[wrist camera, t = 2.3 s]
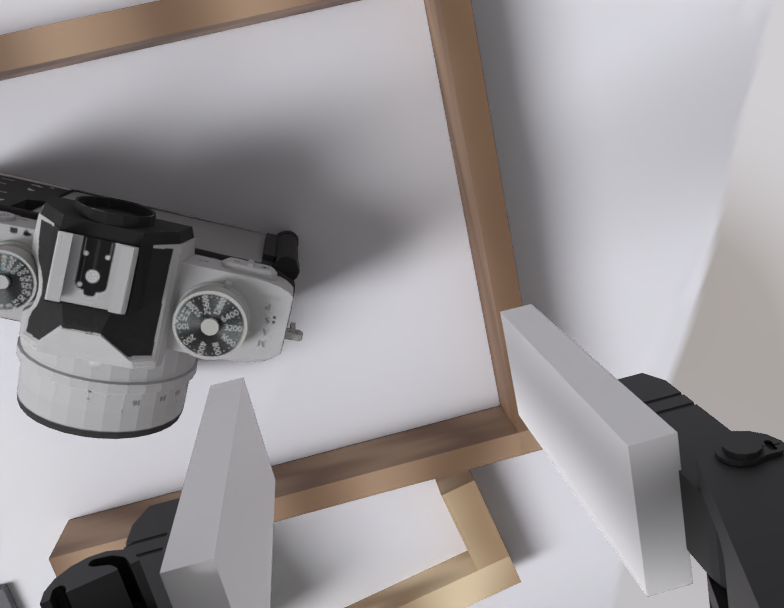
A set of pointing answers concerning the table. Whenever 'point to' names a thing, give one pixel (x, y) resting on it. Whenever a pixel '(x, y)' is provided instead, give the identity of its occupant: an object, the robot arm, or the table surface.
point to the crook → (456, 558)
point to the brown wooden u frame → (484, 226)
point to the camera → (131, 304)
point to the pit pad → (6, 598)
